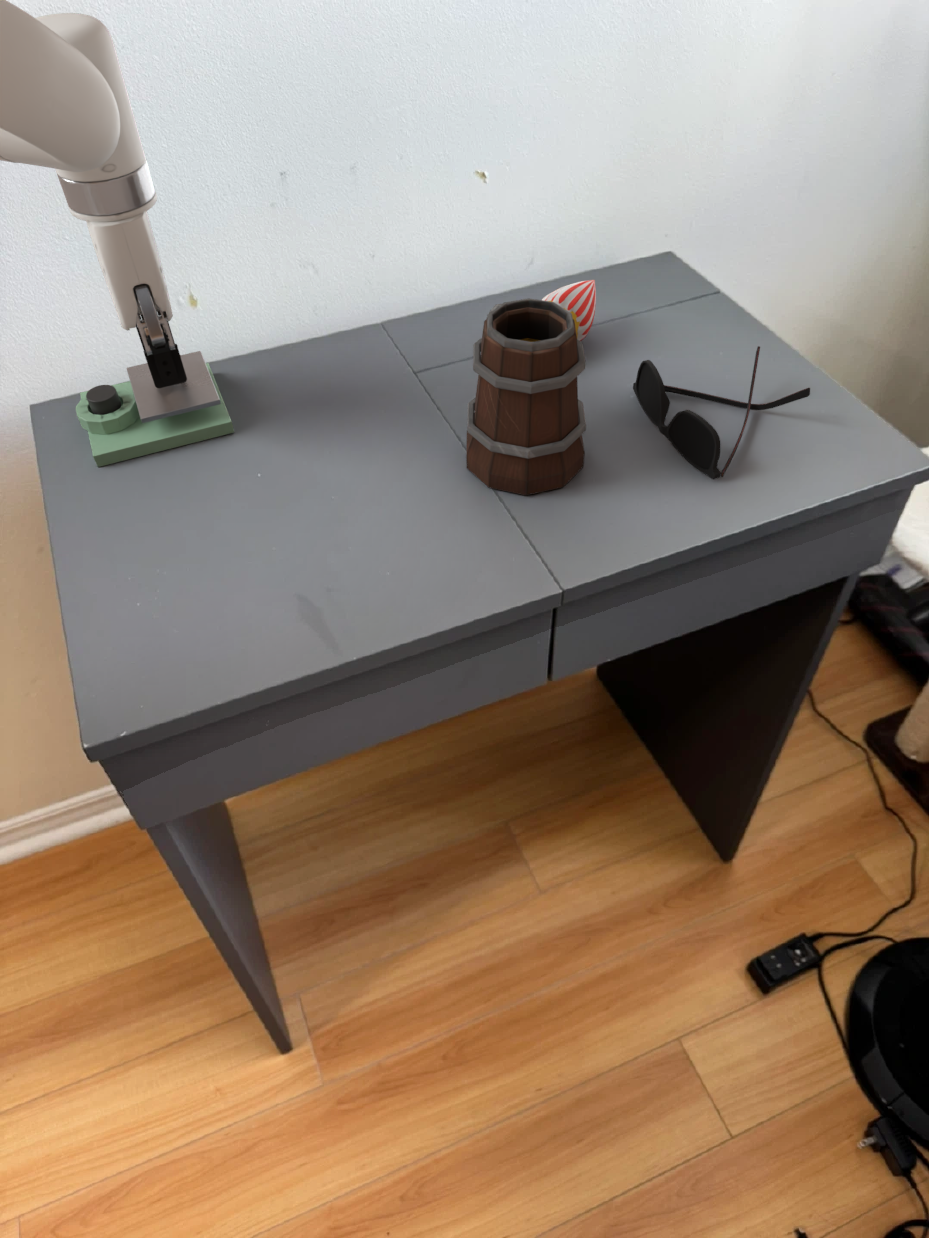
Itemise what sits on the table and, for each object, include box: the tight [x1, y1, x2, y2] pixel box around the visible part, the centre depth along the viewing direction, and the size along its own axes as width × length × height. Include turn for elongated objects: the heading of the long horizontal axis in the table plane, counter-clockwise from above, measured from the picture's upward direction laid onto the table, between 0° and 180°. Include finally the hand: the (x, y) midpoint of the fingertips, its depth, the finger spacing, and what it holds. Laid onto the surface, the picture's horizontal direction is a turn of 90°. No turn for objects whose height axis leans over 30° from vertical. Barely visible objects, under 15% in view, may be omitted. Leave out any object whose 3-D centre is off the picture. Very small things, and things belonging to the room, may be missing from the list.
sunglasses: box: [632, 345, 811, 480], centre depth 89 cm, size 17×14×5 cm
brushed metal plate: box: [126, 350, 221, 423], centre depth 91 cm, size 8×10×1 cm
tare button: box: [86, 384, 121, 415], centre depth 90 cm, size 3×3×2 cm
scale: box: [75, 362, 235, 468], centre depth 92 cm, size 14×12×3 cm
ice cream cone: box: [541, 279, 597, 342], centre depth 98 cm, size 6×6×20 cm
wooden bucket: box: [465, 297, 587, 496], centre depth 83 cm, size 16×12×15 cm
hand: (166, 367), depth 90 cm, fingers closed on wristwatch, 5 cm apart
